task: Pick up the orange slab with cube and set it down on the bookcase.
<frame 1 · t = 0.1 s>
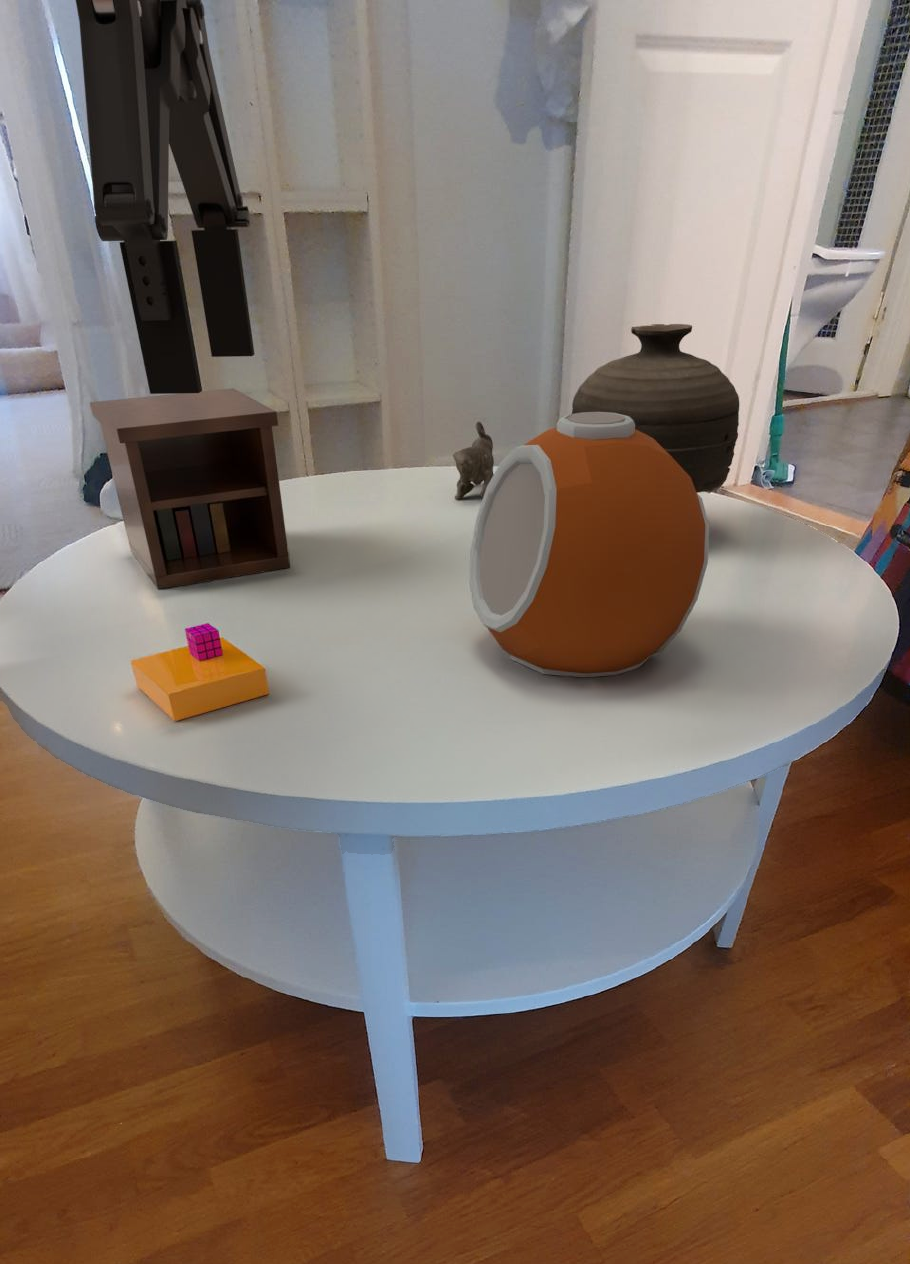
hand: (207, 373, 55), 22 cm above the table, tool pointing down, fingers open, 13 cm apart
orange slab with cube: (203, 692, 73), on the table
dog figurine: (474, 497, 117), on the table
pot: (640, 534, 103), on the table
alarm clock: (577, 650, 78), on the table
bookcase: (208, 559, 99), on the table
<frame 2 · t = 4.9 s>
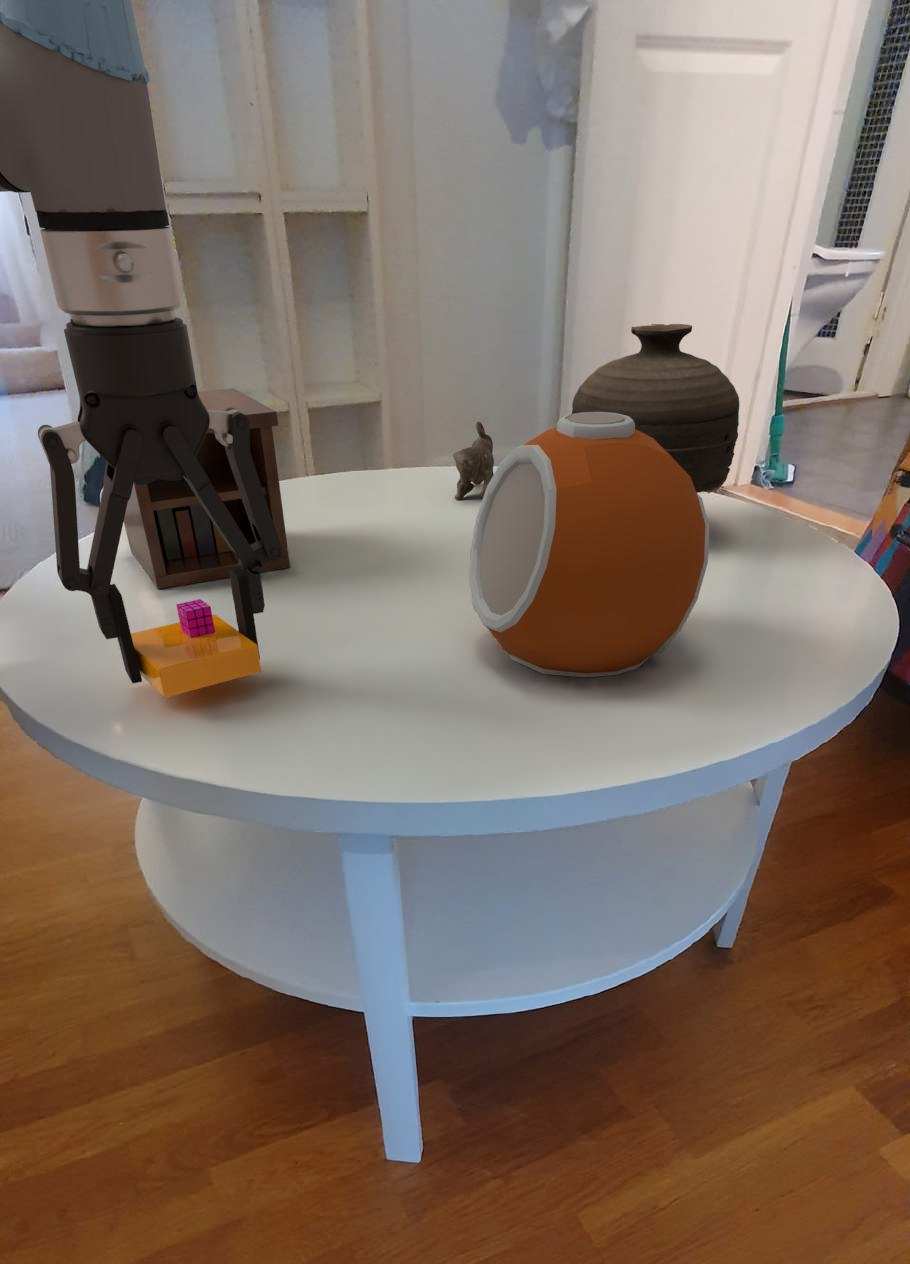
hand: (193, 664, 72), 2 cm above the table, tool pointing down, fingers closed on orange slab with cube, 9 cm apart
orange slab with cube: (194, 670, 72), point 2 cm above the table, touching gripper
everything else where it was.
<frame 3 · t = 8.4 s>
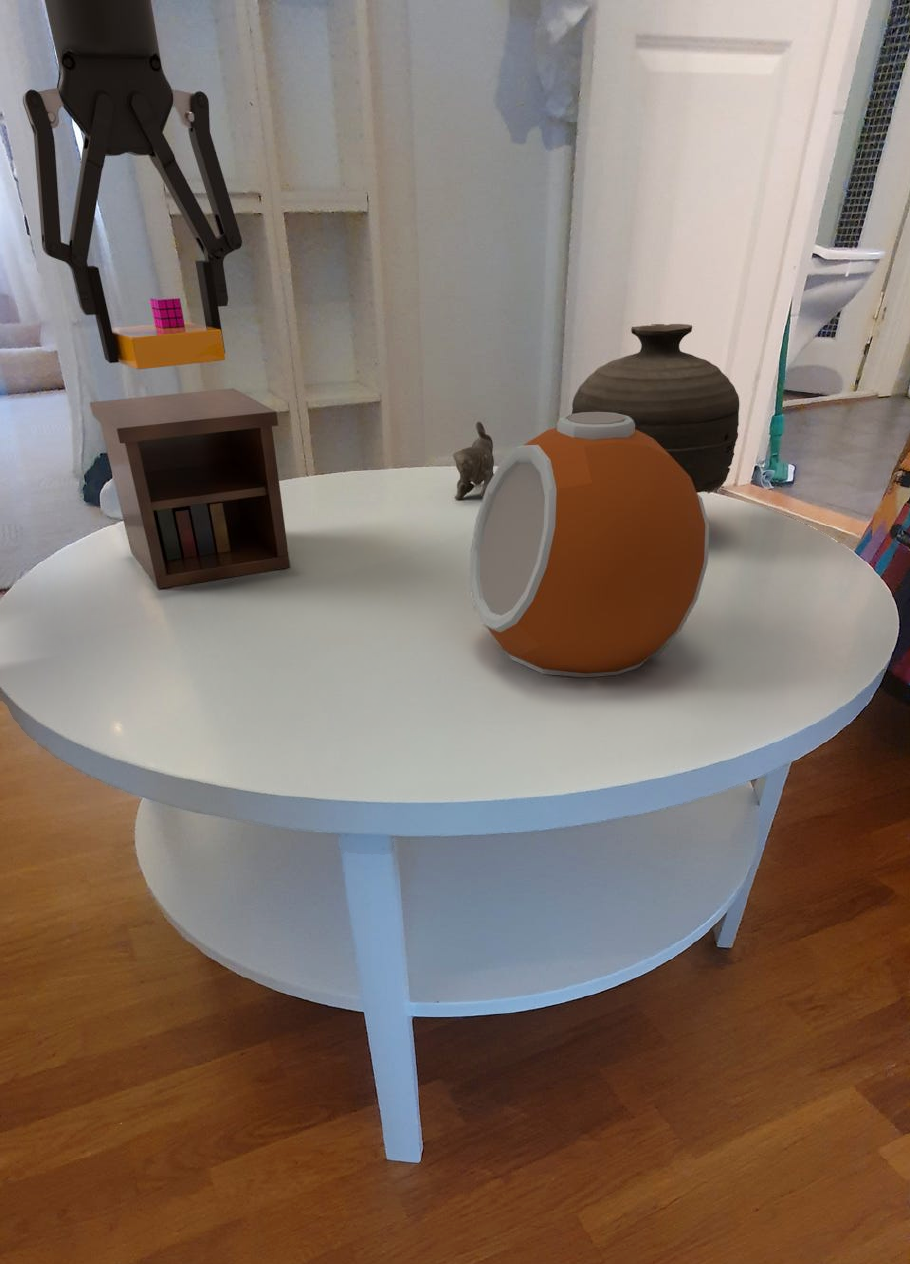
hand: (165, 356, 80), 19 cm above the table, tool pointing down, fingers closed on orange slab with cube, 9 cm apart
orange slab with cube: (166, 362, 81), point 19 cm above the table, touching gripper
everything else where it was.
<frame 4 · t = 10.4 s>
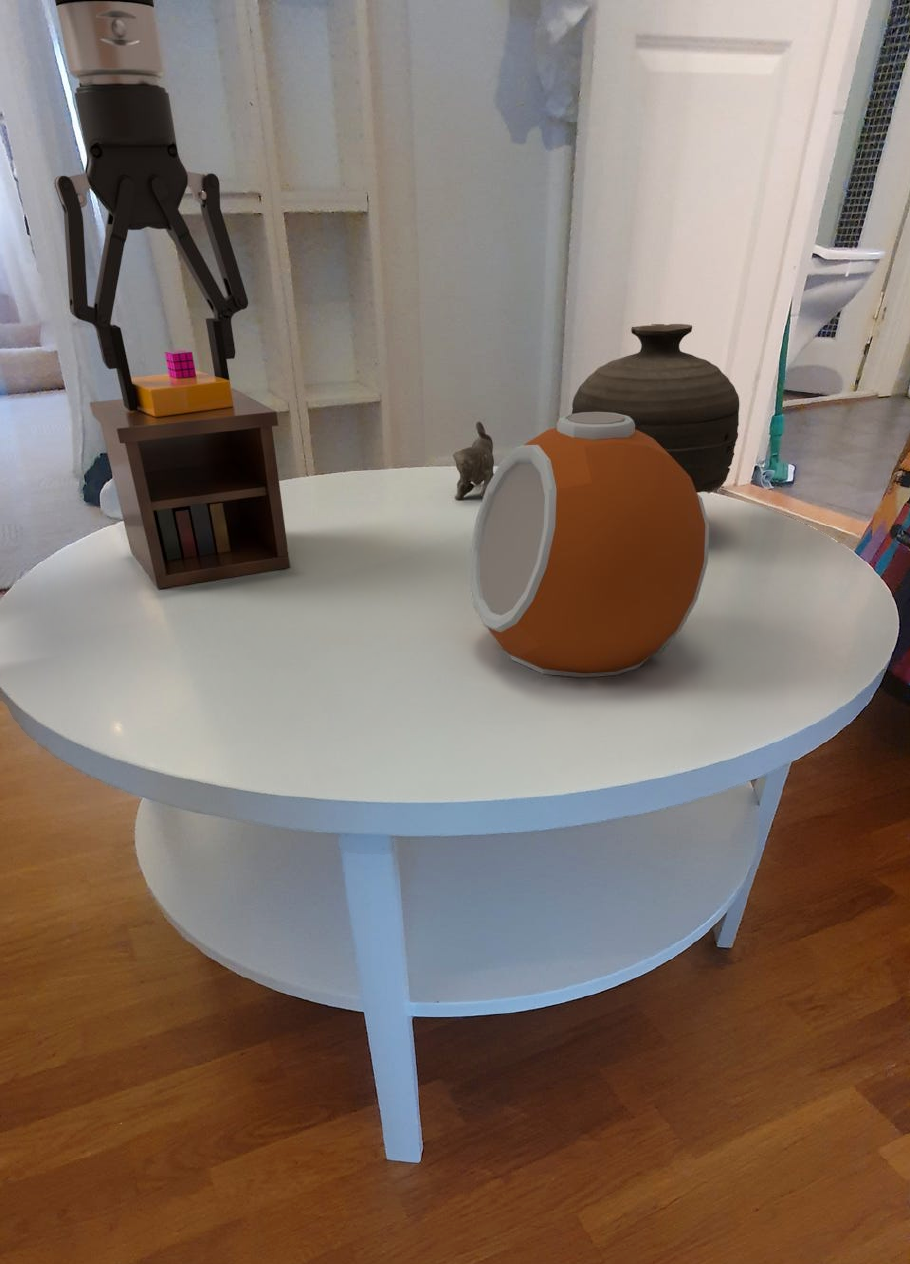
hand: (178, 403, 89), 15 cm above the table, tool pointing down, fingers closed on orange slab with cube, 9 cm apart
orange slab with cube: (179, 408, 89), point 14 cm above the table, touching gripper
everything else where it was.
when the fingers open (15 cm above the table, at t = 12.0 s): orange slab with cube stays where it is, resting on bookcase.
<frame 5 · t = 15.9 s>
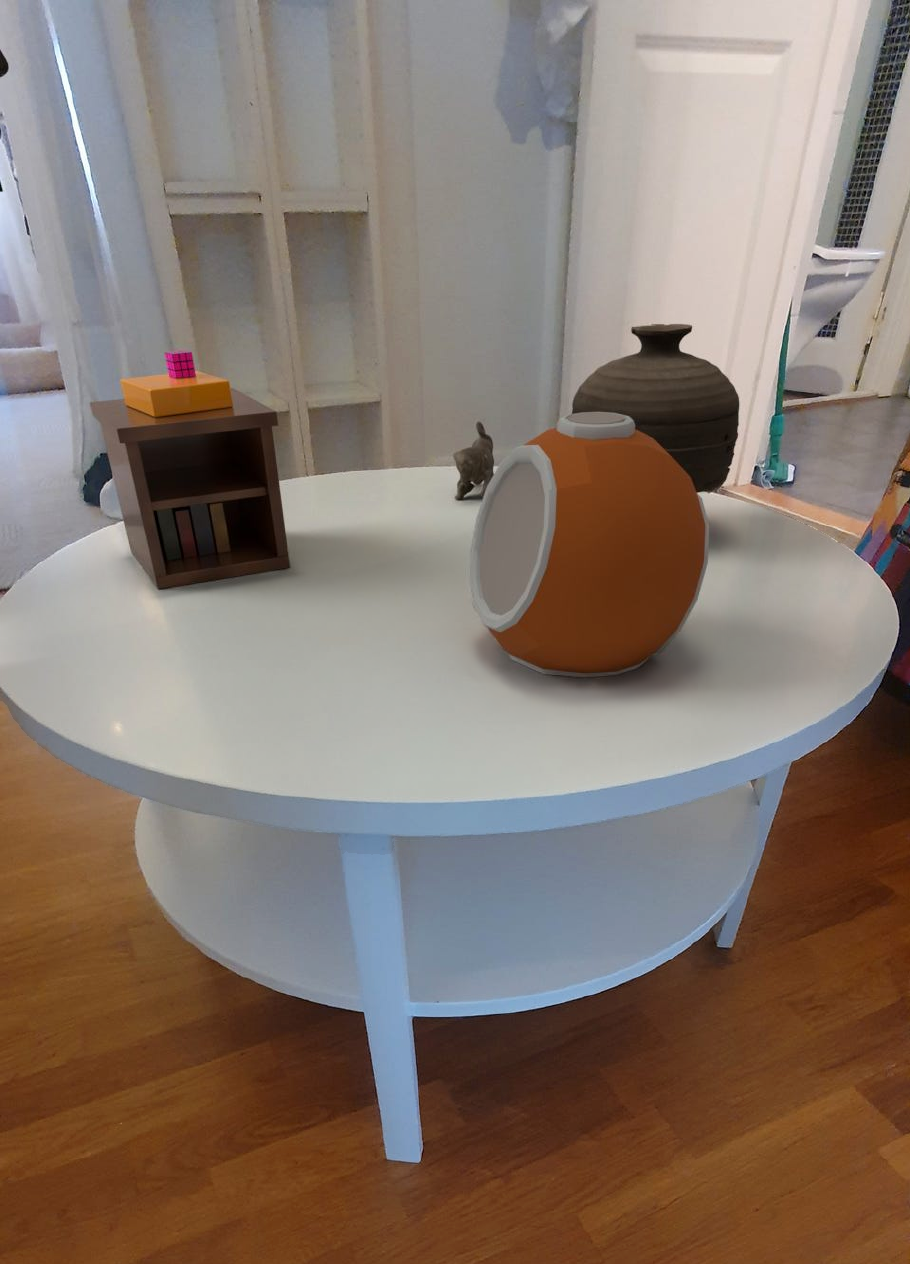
orange slab with cube: (179, 408, 89), point 14 cm above the table, touching bookcase
everything else where it was.
at the end: orange slab with cube inside the target area on the bookcase (0.1 cm from its centre), point 14.2 cm above the bookcase's base; orange slab with cube tilted 0°; the gripper is holding nothing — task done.
